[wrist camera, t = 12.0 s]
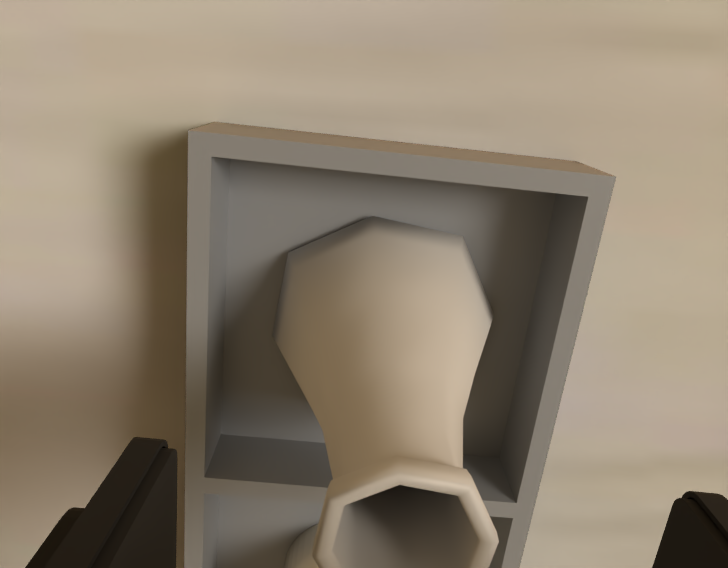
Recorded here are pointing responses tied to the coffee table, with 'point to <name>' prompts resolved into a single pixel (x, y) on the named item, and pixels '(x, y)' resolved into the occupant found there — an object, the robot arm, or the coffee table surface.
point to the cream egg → (302, 550)
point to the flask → (390, 391)
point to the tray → (261, 296)
